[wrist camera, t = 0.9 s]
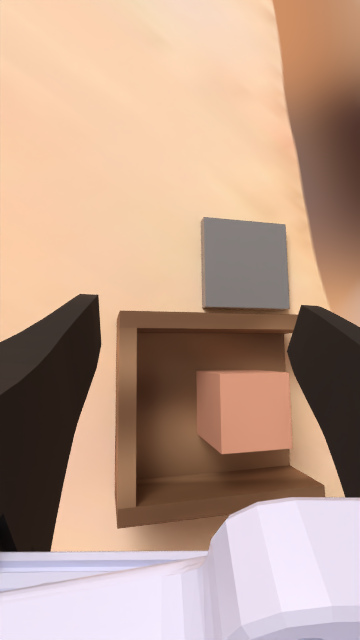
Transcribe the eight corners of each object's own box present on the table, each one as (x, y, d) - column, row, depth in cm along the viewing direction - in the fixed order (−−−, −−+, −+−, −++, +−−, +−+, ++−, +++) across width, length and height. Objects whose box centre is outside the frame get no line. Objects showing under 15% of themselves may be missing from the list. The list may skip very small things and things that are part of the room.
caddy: (285, 476, 25) (325, 501, 21) (114, 494, 22) (117, 528, 18) (279, 322, 26) (314, 314, 22) (116, 319, 23) (119, 310, 19)
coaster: (284, 310, 27) (289, 308, 26) (202, 308, 25) (205, 306, 24) (280, 228, 27) (285, 224, 27) (201, 221, 26) (203, 217, 25)
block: (255, 430, 24) (292, 448, 19) (197, 433, 23) (221, 454, 18) (252, 369, 25) (289, 372, 20) (196, 370, 24) (219, 374, 19)
